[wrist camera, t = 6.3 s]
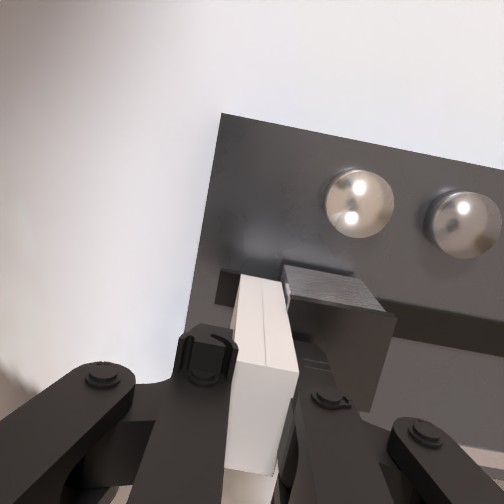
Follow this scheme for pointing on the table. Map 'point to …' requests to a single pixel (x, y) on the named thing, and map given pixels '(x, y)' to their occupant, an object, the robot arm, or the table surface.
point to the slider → (340, 327)
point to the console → (372, 261)
